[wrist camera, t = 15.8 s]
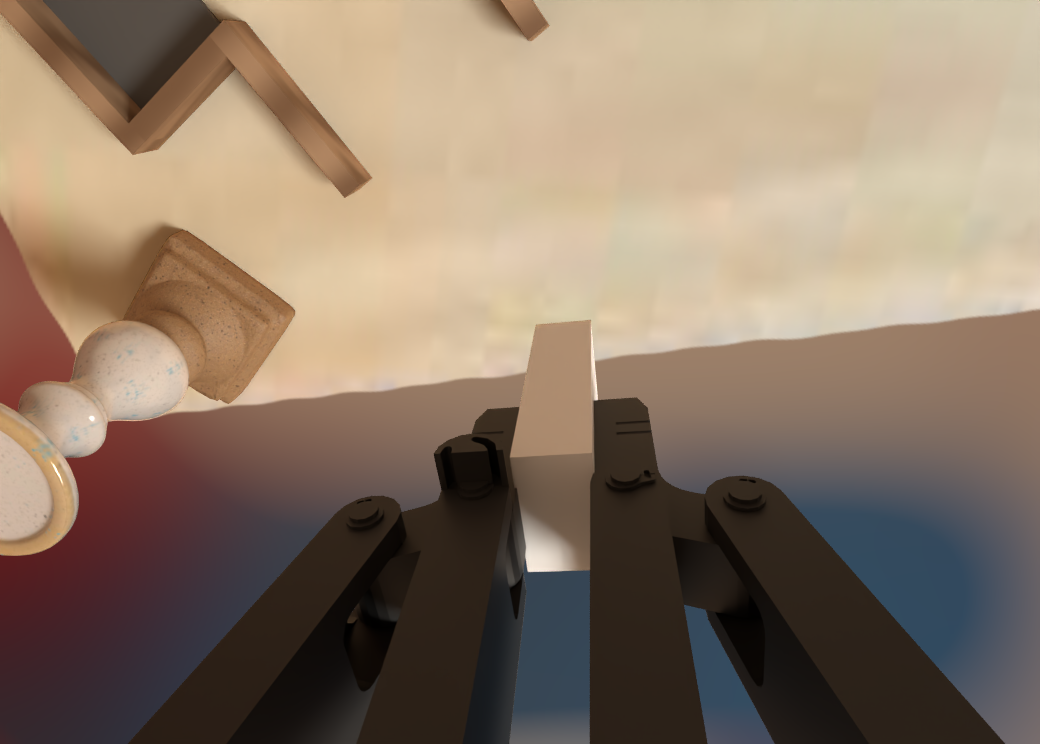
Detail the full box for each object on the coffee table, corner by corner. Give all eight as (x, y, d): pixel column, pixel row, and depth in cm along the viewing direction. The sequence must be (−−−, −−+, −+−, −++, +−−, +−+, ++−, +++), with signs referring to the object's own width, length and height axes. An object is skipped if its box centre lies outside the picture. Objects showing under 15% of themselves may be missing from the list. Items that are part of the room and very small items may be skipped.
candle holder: (182, 226, 52) (-106, 345, 30) (298, 310, 54) (107, 477, 32) (129, 323, 56) (-155, 487, 35) (239, 397, 58) (36, 594, 37)
